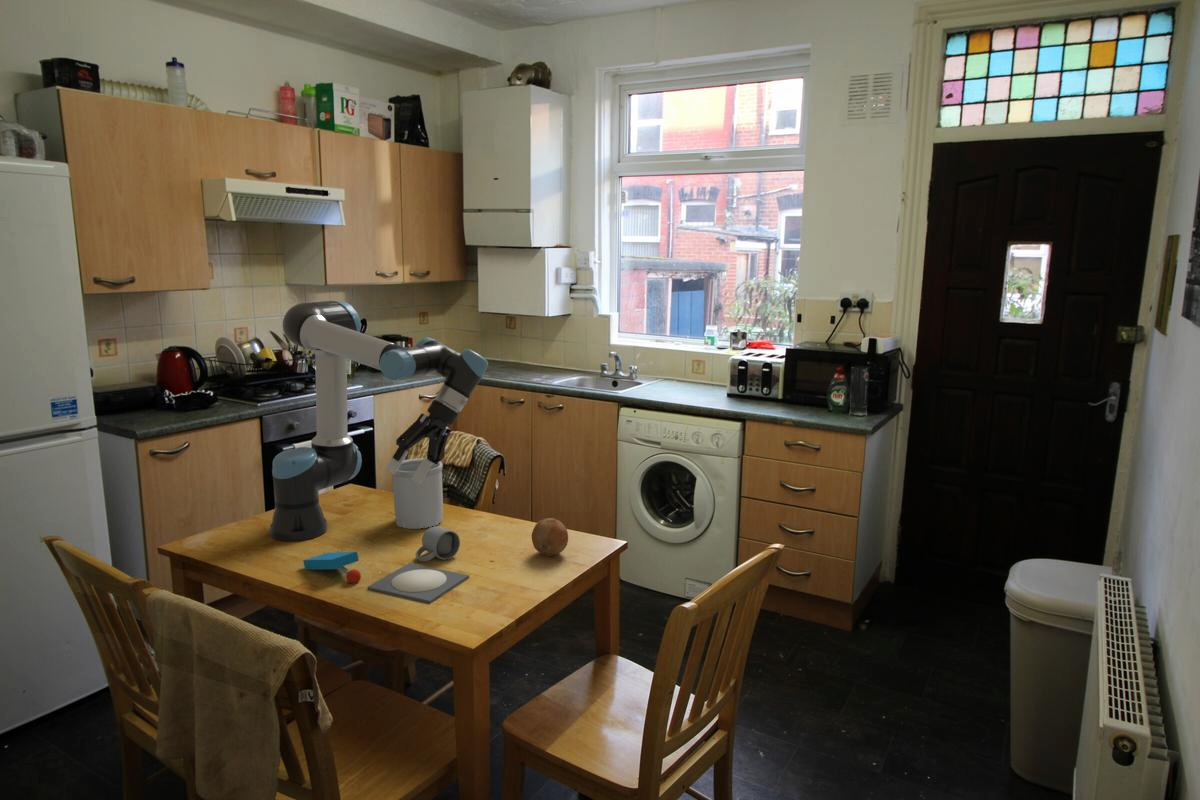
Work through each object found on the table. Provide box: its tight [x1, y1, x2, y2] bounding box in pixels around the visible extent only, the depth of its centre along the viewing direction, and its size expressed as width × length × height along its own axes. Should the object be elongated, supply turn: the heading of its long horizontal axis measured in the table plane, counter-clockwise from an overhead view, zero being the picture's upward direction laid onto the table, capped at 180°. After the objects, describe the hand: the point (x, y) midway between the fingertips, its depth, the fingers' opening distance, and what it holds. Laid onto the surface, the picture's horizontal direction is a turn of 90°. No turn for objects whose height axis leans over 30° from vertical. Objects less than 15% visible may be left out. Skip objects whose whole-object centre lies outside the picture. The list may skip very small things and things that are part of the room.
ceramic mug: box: [415, 525, 461, 563], centre depth 206 cm, size 11×8×8 cm
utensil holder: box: [391, 458, 444, 530], centre depth 231 cm, size 15×15×18 cm
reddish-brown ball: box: [531, 517, 569, 557], centre depth 208 cm, size 10×10×10 cm
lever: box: [302, 550, 362, 585], centre depth 195 cm, size 7×7×18 cm
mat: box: [367, 562, 470, 604], centre depth 190 cm, size 18×16×1 cm
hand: (403, 477), depth 200 cm, fingers open, 13 cm apart
